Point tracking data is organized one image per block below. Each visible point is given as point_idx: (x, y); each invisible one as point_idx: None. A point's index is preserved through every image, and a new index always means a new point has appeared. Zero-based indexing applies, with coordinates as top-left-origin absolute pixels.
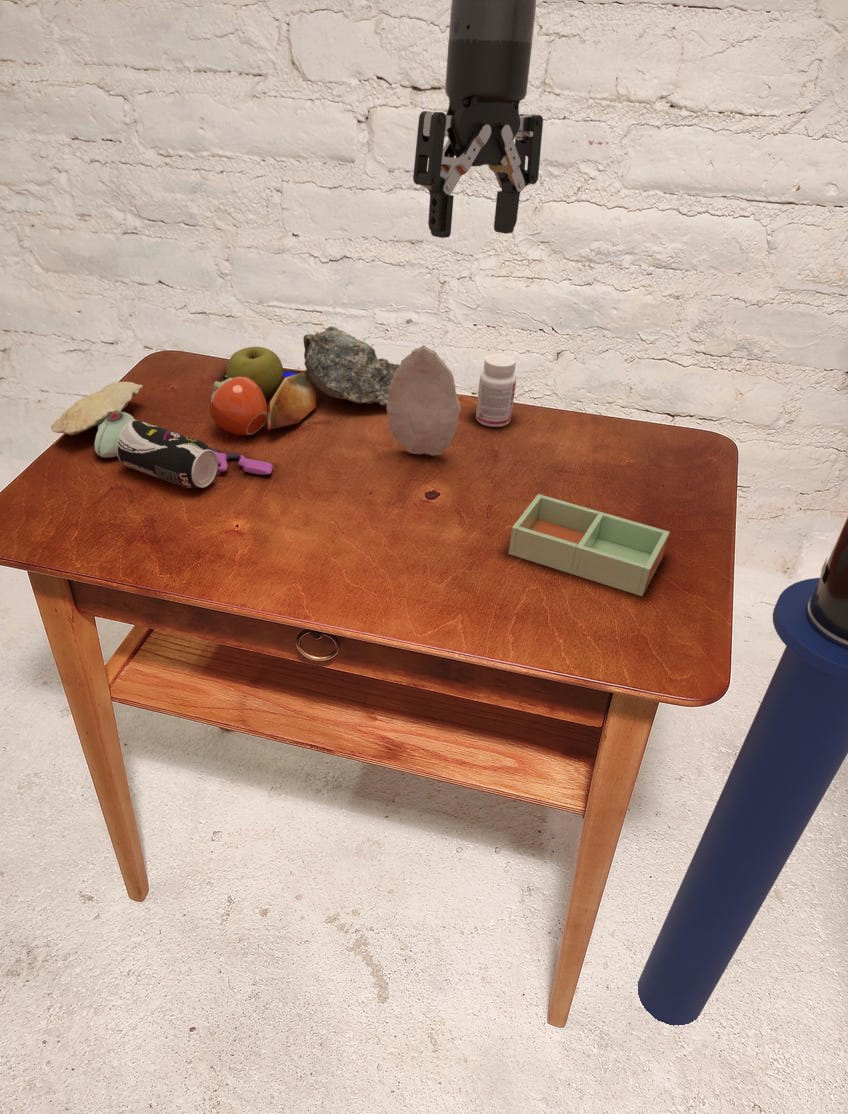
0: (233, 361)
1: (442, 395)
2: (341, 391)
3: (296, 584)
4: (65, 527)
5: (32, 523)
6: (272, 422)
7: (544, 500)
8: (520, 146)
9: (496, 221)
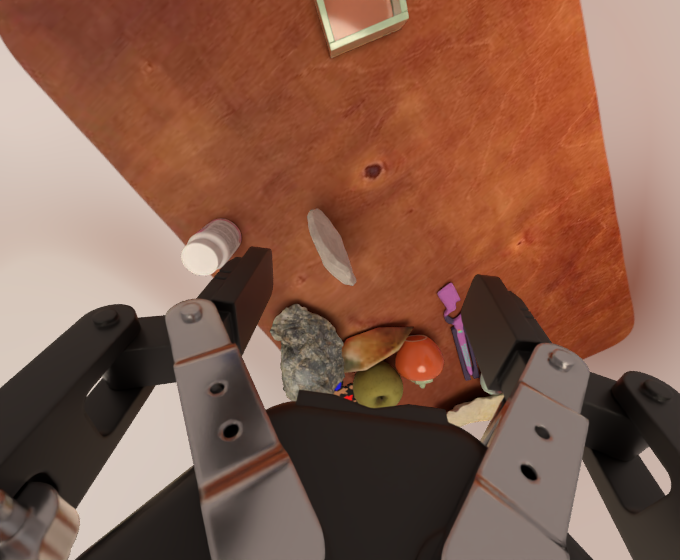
0: (398, 401)
1: (325, 233)
2: (336, 333)
3: (561, 144)
4: (587, 314)
5: (594, 329)
6: (408, 331)
7: (333, 36)
8: (73, 471)
9: (266, 297)
